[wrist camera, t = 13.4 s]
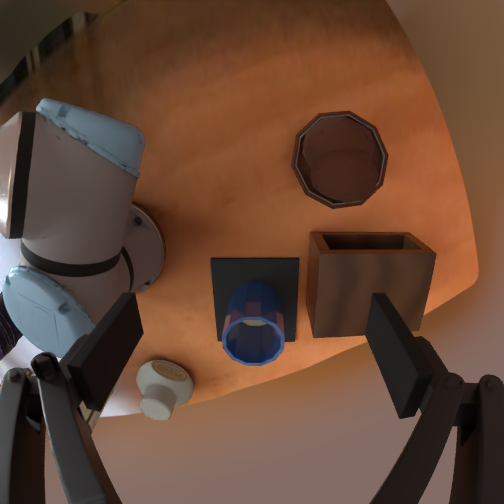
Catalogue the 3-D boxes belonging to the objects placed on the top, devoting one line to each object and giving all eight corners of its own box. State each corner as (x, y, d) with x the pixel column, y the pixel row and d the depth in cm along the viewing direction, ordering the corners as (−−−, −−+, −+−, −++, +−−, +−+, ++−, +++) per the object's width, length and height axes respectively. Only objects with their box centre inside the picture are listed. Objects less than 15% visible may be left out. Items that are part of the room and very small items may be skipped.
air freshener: (201, 371, 55) (191, 410, 45) (188, 396, 57) (178, 433, 48) (146, 348, 53) (128, 384, 44) (138, 375, 56) (122, 410, 47)
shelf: (306, 304, 49) (313, 338, 40) (309, 231, 44) (320, 254, 36) (398, 301, 48) (418, 330, 39) (409, 232, 44) (436, 253, 35)
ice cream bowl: (367, 187, 42) (412, 212, 28) (291, 198, 43) (304, 228, 29) (358, 114, 38) (402, 104, 24) (279, 122, 39) (286, 113, 25)
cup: (231, 325, 50) (224, 365, 41) (228, 281, 47) (220, 316, 38) (280, 325, 50) (283, 365, 40) (281, 281, 47) (285, 316, 38)
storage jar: (50, 316, 53) (10, 359, 39) (27, 326, 54) (-10, 364, 40) (26, 274, 50) (-20, 310, 36) (5, 287, 51) (-37, 321, 37)
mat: (218, 339, 52) (217, 341, 51) (211, 258, 47) (210, 259, 46) (294, 340, 51) (294, 341, 51) (298, 257, 46) (299, 258, 46)
